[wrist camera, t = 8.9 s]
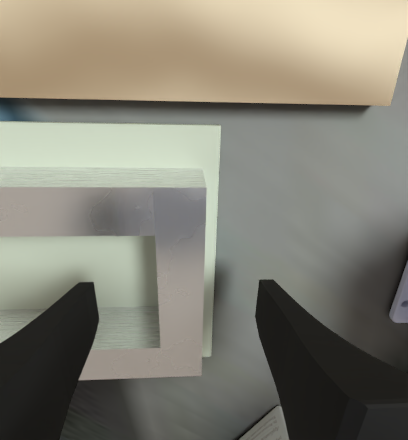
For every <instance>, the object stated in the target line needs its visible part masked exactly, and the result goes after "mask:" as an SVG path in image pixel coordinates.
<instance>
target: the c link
mask: <svg viewBox="0 0 408 440" xmlns="http://www.w3.org/2000/svg"><path fill="white" fill-rule="evenodd" d="M206 194H207V187H206V182H205V178H204V173H203V169H202V168H124V167H0V237H45V236H155V243H156V263H157V284H158V304H159V306H143V307H98V314H99V323H98V327H97V331H96V335H95V339H94V342H93V345H92V348H91V350H90V353H89V355H88V358H87V360H86V363H85V365H84V368H83V370H82V373H81V375H80V378H79V380H100V379H127V378H154V377H182V376H202V341H203V304H204V268H205V231H206ZM46 310H47V309H6V310H0V343H1V342H3V341H4V340H6V339H7V338H9V337H11V336H12V335H13V334H15V333H16V332H18V331H19V330H21V329H22V328H23V327H25V326H26V325H27V324H29V323H30V322H31V321H33V320H34V319H35V318H37V317H38V316H39V315H40V314H42V313H43V312H44V311H46Z"/></svg>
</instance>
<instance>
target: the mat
mask: <svg viewBox="0 0 408 440" xmlns="http://www.w3.org/2000/svg"><path fill="white" fill-rule="evenodd" d="M220 137H221V125H208V124H148V123H87V122H26V121H0V167H124V168H202V169H203V173H204V178H205V182H206V187H207V194H206V231H205V268H204V304H203V341H202V357H211V346H212V322H213V299H214V276H215V253H216V230H217V207H218V183H219V160H220ZM79 282H94V287H95V294H96V300H97V307H143V306H159V304H158V284H157V263H156V243H155V236H45V237H0V310H6V309H48V308H49V307H50V306H52V305H53V304H54V303H55V302H56V301H58V300H59V299H60V298H61V297H62V296H63V295H65V294H66V293H67V292H68V291H69V290H70V289H72V288H73V287H74V286H75V285H76V284H78V283H79Z"/></svg>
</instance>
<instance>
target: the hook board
mask: <svg viewBox="0 0 408 440" xmlns="http://www.w3.org/2000/svg"><path fill="white" fill-rule="evenodd" d="M407 38H408V0H0V97H5V98H52V99H99V100H146V101H193V102H240V103H287V104H334V105H380V106H390V104H391V101H392V97H393V93H394V89H395V85H396V81H397V77H398V73H399V69H400V65H401V61H402V58H403V54H404V50H405V46H406V42H407Z"/></svg>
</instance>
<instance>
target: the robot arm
mask: <svg viewBox="0 0 408 440" xmlns="http://www.w3.org/2000/svg"><path fill="white" fill-rule="evenodd" d="M389 317H390V318H391V320H392V321H393V322H395V323H408V261H407V264H406V267H405V270H404V273H403V276H402V278H401V281H400V284H399V287H398V290H397V293H396V296H395V299H394V302H393V304H392V307H391V310H390V313H389ZM255 318H256V323H257V328H258V333H259V337H260V340H261V343H262V346H263V349H264V352H265V355H266V358H267V361H268V364H269V367H270V370H271V373H272V376H273V379H274V382H275V384H276V388H277V391H278V394H279V398H280V402H281V407H282V411H283V415H284V419H285V424H286V428H287V433H288V437H289V440H408V374H407V373H405V372H403V371H400V370H398V369H396V368H394V367H392V366H390V365H388V364H386V363H384V362H382V361H380V360H378V359H376V358H374V357H373V356H371V355H369V354H367V353H365V352H364V351H362V350H360V349H359V348H357V347H355V346H354V345H352V344H350V343H349V342H347V341H346V340H344V339H343V338H341V337H340V336H338V335H337V334H335V333H334V332H332V331H331V330H330V329H328V328H327V327H326V326H324V325H323V324H322V323H320V322H319V321H318V320H317V319H315V318H314V317H313V316H312V315H310V314H309V313H308V312H307V311H306V310H305V309H304V308H302V307H301V306H300V305H299V304H298V303H297V302H296V301H295V300H294V299H293V298H292V297H291V296H289V295H288V294H287V293H286V292H285V291H284V290H283V289H282V288H281V287H280V286H279V285H278V284H277V283H276V282H275V281H274V280H259V288H258V296H257V305H256V314H255ZM98 323H99V314H98V307H97V300H96V294H95V287H94V282H79V283H78V284H76V285H75V286H74V287H73V288H72V289H70V290H69V291H68V292H67V293H66V294H65V295H63V296H62V297H61V298H60V299H59V300H58V301H56V302H55V303H54V304H53V305H52V306H50V307H49V308H48V309H47V310H46V311H44V312H43V313H42V314H40V315H39V316H38V317H37V318H35V319H34V320H33V321H31V322H30V323H29V324H27V325H26V326H25V327H23V328H22V329H21V330H19V331H18V332H16V333H15V334H13V335H12V336H11V337H9V338H7V339H6V340H4V341H3V342H1V343H0V440H59V439H60V435H61V431H62V428H63V424H64V421H65V418H66V414H67V411H68V407H69V404H70V401H71V398H72V395H73V393H74V390H75V388H76V385H77V383H78V380H79V378H80V375H81V373H82V370H83V368H84V365H85V363H86V360H87V358H88V355H89V353H90V350H91V348H92V345H93V342H94V339H95V335H96V331H97V327H98Z"/></svg>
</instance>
